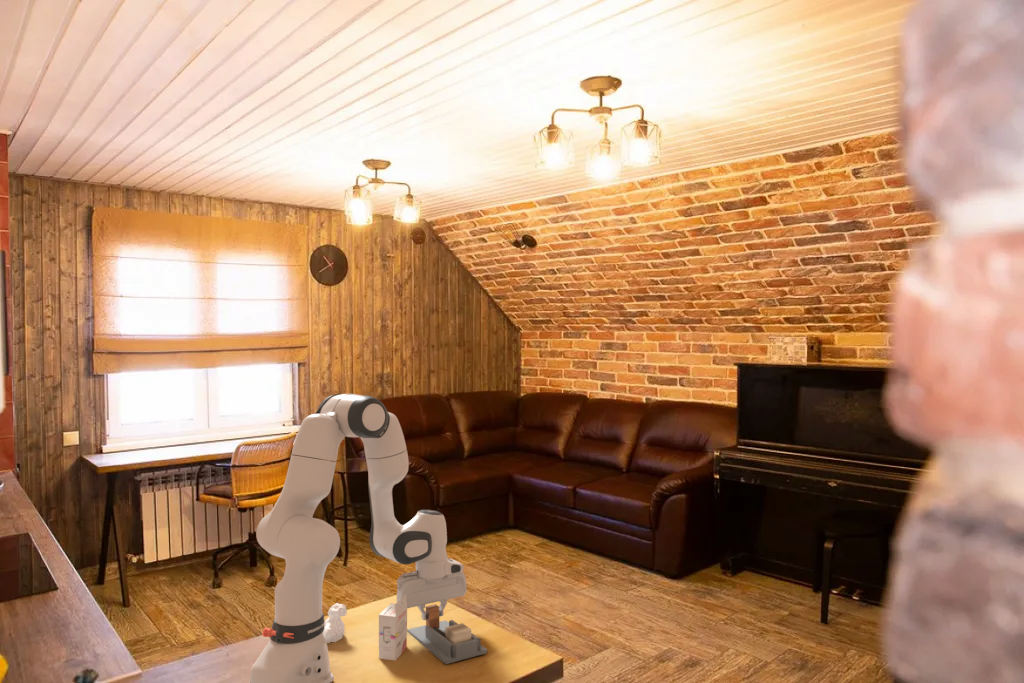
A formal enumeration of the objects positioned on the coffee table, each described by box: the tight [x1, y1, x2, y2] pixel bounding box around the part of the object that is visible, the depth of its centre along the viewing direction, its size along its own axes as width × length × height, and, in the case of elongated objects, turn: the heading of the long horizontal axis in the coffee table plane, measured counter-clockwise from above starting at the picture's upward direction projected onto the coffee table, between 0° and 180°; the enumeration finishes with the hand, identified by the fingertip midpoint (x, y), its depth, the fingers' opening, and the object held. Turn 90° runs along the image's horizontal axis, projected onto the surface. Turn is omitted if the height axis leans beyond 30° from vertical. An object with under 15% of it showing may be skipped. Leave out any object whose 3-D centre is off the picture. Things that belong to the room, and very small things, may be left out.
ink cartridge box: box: [378, 594, 408, 661], centre depth 193 cm, size 9×5×15 cm, turn 168°
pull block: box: [425, 603, 472, 644], centre depth 200 cm, size 19×5×6 cm, turn 32°
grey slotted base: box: [407, 619, 488, 665], centre depth 200 cm, size 24×12×4 cm, turn 32°
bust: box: [323, 602, 348, 644], centre depth 203 cm, size 12×8×11 cm
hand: (432, 617), depth 207 cm, fingers closed on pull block, 3 cm apart
